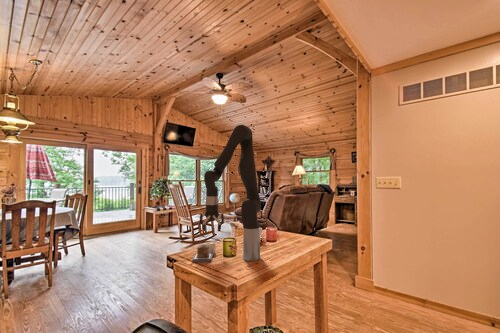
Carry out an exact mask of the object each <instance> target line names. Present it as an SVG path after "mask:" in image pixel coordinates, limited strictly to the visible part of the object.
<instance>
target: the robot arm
mask: <svg viewBox="0 0 500 333" xmlns="http://www.w3.org/2000/svg"><path fill="white" fill-rule="evenodd" d="M253 141H254V140H253V132H252V129H251V128H250V127H248V126H247V125H245V124H238V125H236V126H235V127H234V128H233V130H232V132H231V134H230V136H229V138H228V141H227V143H226V144H225V146H224V148H223V150H222V151H221V153H220V154H219V156H218V157H217V159H216V160H215V161H214V163H213V166H214V168H213V169H212V170H211V169H209V170H207V171H205V173H204V175H203V180H204V181H203V182H204V184H205V185H204V186H205V189H206V190H205V194H206V195H205V213H203V212H201V213H200V214H199V224H200V225H202V231H203V232H206V229H207V228H206V227H207V226H206V223H207V222H216V223H217V224H218V228H217V230H218V232H220V231H221V229H222V224H223V225H224V223H225V218H224V217H225V216H224V212H221V213H219V188H218V186H216V182H218V181H219V180H220V179H221V177H223V176H222V175H223V174H224V172H225V171H224V170H225V169H226V167H227V166H228V165H229V163H230V162H231V160H232V158H233V156H234V152H235V151H236V149H237V147H238V146H239V144H240V146H239V147H240V156H239V162H238V168H239V169H238V170H239V176H240V179H241V181H242V184H243V185H244V189H245V193H246V199H245V200H243V201H242V203H241V207H240V208H241V209H240V211H241V214H240V215H241V223H242V244H243V245H242V246H243V247H242V253H243V254H242V257H243V260H245V261H248V262H256V261H260V260H261V242H260V228H261V226H260V222H259V221H258V214H259V213H260V211H261V209H262V202H261V198H260V193H259V188H258V187H259V186H258V178H257V169H256V161H255V156H254V147H253V145H254V144H253ZM204 217H205V220H204V221H203V218H204ZM219 217H220V218H221V221H220V219H219Z"/></svg>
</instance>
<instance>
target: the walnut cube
mask: <svg viewBox="0 0 500 333" xmlns="http://www.w3.org/2000/svg"><path fill="white" fill-rule="evenodd" d="M196 250H197V251H196V252H197V258H208V255H209V244H198V246H197V248H196Z"/></svg>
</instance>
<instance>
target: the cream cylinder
mask: <svg viewBox="0 0 500 333" xmlns="http://www.w3.org/2000/svg"><path fill="white" fill-rule="evenodd" d="M208 245H209V253H213V255H216V242H214V241H211V242H209V243H208Z"/></svg>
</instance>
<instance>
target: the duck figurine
mask: <svg viewBox="0 0 500 333" xmlns="http://www.w3.org/2000/svg"><path fill="white" fill-rule="evenodd" d="M260 235H261V237H262V239H263V240H264V238H265V234H264V233H263V228H262V227H260Z"/></svg>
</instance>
